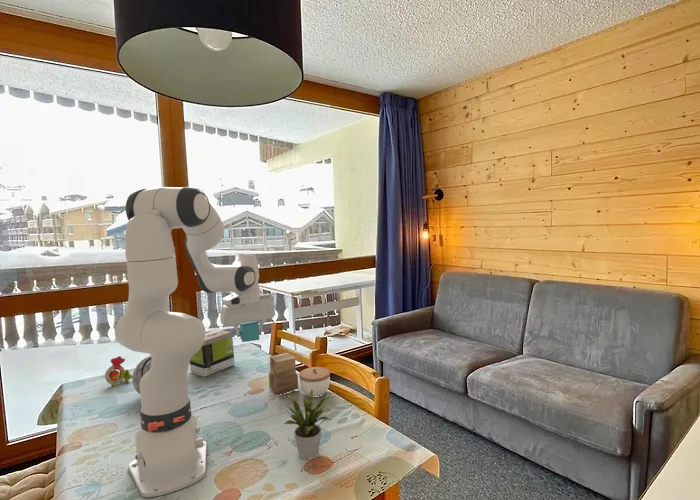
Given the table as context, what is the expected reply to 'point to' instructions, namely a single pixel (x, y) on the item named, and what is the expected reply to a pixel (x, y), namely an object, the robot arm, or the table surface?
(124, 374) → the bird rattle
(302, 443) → the house plant
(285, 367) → the block
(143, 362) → the decorative orb
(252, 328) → the teal block
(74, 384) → the table surface
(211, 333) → the tea box
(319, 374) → the lidded jar
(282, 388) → the tower bottom
